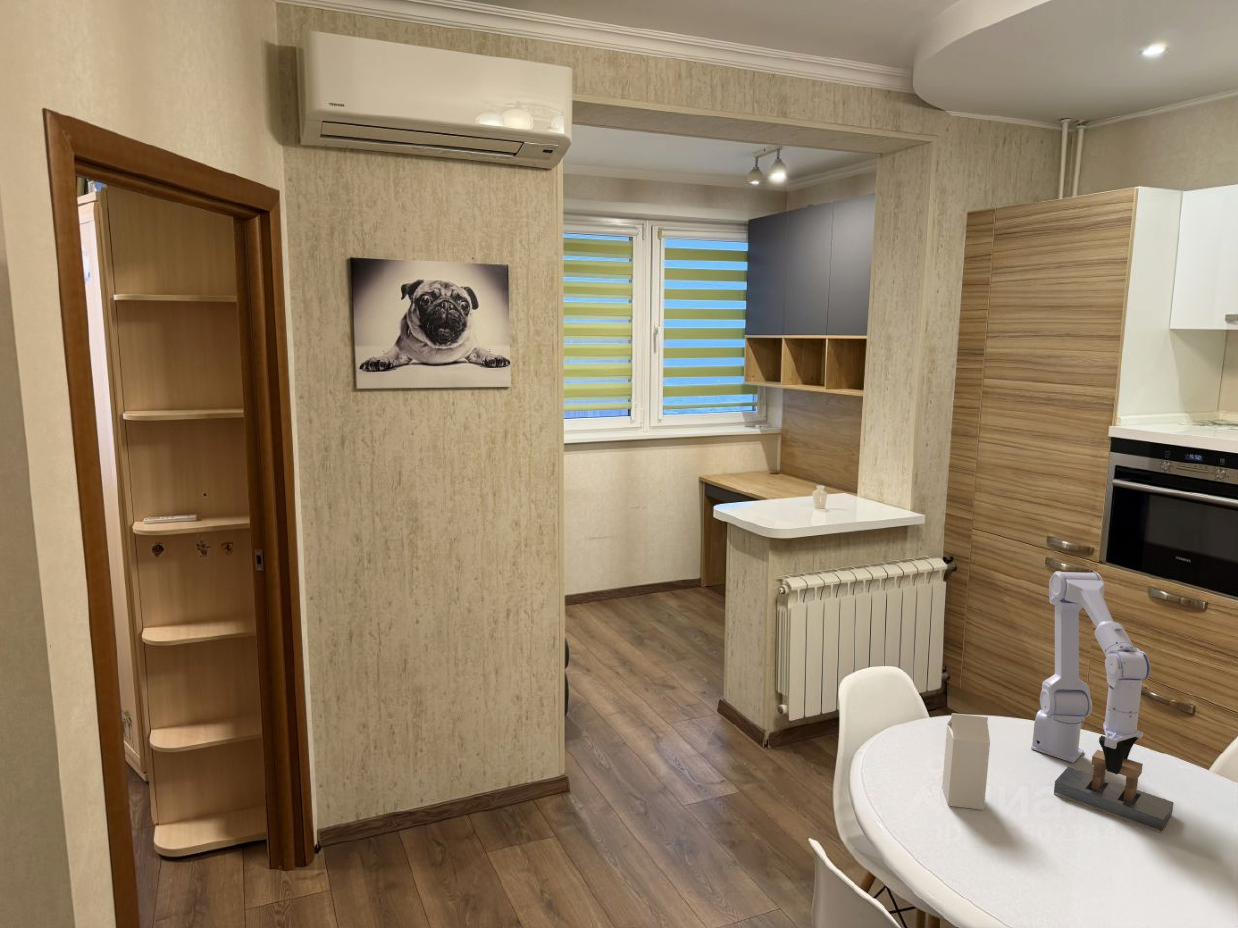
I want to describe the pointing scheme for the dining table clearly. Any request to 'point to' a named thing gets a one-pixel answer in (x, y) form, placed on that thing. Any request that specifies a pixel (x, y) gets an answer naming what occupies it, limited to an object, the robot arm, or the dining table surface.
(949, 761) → the milk carton
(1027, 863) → the dining table surface
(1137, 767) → the wooden arch block
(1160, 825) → the grey slotted block
